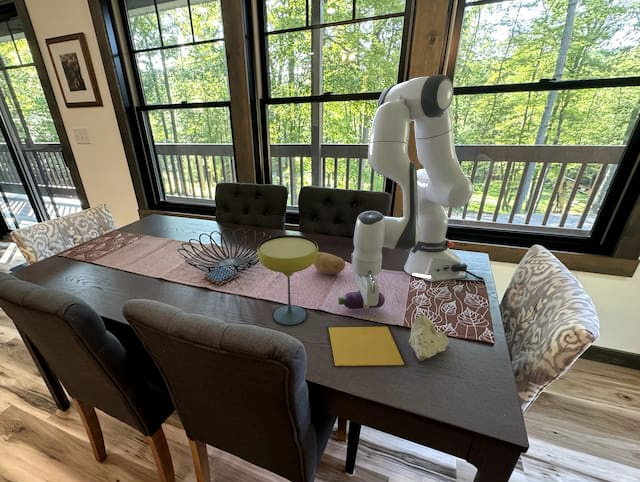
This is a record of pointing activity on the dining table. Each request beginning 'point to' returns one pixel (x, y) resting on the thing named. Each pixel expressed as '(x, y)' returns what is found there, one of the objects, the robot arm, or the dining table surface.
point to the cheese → (426, 339)
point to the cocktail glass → (288, 267)
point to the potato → (329, 263)
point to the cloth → (363, 346)
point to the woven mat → (221, 275)
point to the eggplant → (358, 300)
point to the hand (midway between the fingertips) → (363, 301)
